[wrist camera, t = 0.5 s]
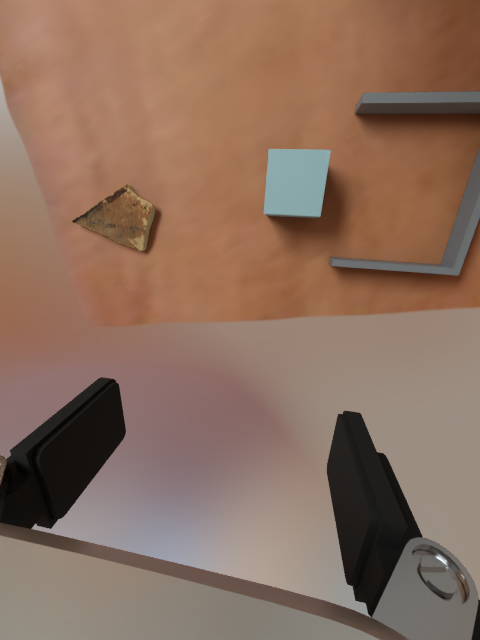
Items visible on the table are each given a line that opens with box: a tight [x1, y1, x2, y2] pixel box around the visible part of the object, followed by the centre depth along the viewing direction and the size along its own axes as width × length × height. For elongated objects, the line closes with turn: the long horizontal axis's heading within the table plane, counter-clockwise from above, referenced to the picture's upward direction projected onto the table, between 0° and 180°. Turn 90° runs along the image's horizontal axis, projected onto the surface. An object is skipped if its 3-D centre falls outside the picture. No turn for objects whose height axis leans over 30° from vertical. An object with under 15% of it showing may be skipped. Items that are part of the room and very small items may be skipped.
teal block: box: [264, 149, 331, 218], centre depth 28 cm, size 6×6×5 cm
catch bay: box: [329, 91, 480, 276], centre depth 28 cm, size 17×14×2 cm
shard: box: [72, 184, 155, 251], centre depth 34 cm, size 11×8×2 cm
